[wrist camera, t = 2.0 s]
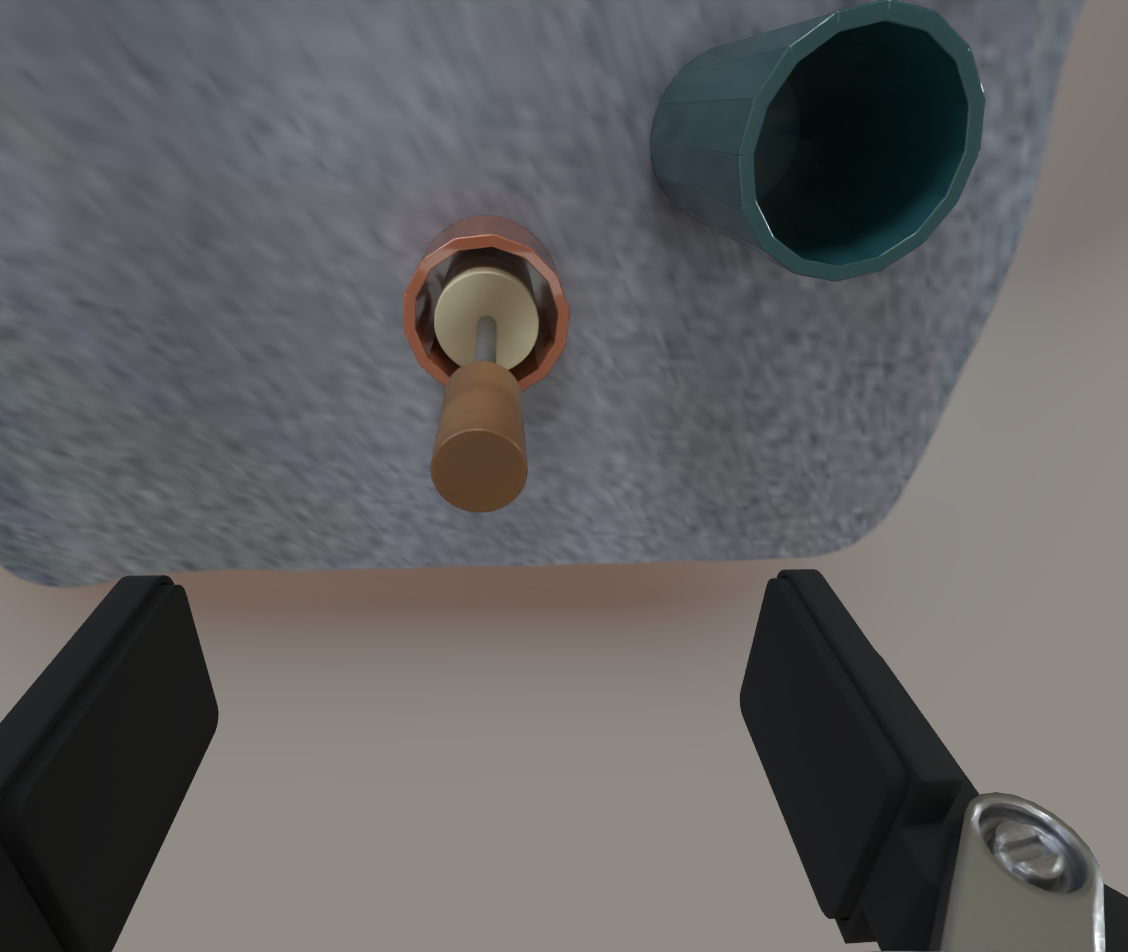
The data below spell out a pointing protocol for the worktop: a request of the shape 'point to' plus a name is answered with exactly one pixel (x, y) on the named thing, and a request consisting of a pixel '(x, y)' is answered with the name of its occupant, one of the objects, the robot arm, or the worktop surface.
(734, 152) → the cup
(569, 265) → the worktop surface
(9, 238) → the worktop surface
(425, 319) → the cup
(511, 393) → the brush
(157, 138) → the worktop surface
